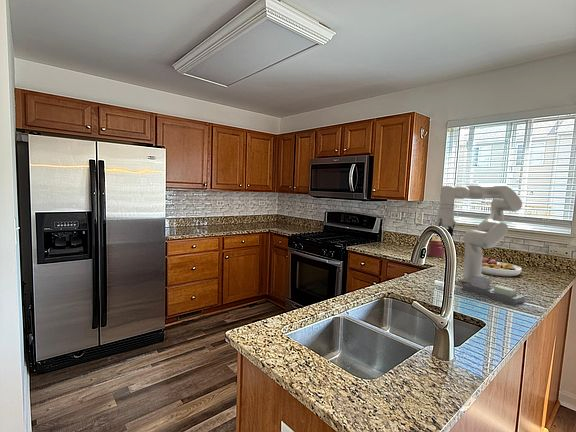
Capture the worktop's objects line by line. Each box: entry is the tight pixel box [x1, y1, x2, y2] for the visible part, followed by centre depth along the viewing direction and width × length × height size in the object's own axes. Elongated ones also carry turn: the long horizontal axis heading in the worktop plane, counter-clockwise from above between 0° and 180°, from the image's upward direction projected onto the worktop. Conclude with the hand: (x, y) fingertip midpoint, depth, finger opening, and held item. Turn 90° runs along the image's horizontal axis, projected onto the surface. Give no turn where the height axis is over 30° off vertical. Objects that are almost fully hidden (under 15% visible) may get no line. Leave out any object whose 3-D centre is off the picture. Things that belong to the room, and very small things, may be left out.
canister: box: [427, 235, 445, 258], centre depth 270 cm, size 13×13×18 cm
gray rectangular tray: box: [462, 283, 526, 306], centre depth 166 cm, size 10×26×3 cm, turn 29°
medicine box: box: [471, 275, 491, 290], centre depth 171 cm, size 8×4×9 cm, turn 30°
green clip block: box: [493, 284, 517, 297], centre depth 160 cm, size 4×8×6 cm, turn 30°
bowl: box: [481, 257, 522, 277], centre depth 220 cm, size 30×30×8 cm
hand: (444, 236), depth 184 cm, fingers open, 9 cm apart
